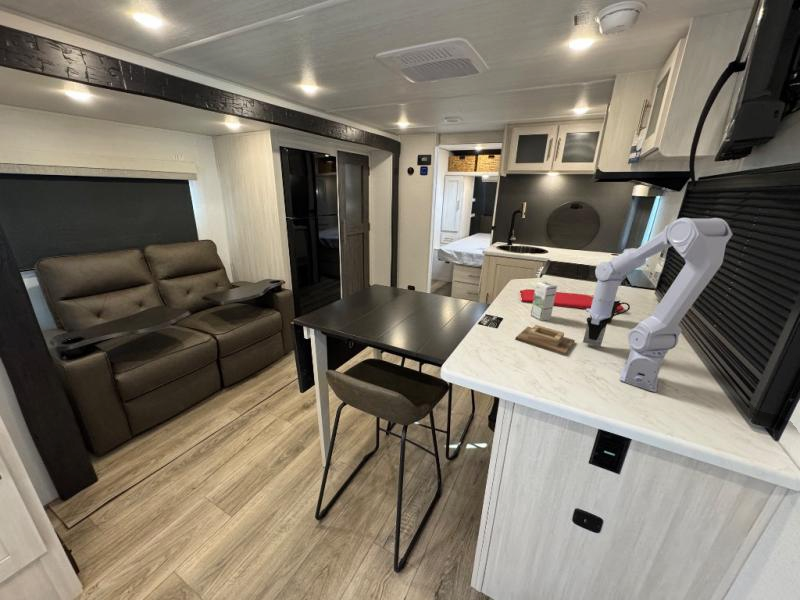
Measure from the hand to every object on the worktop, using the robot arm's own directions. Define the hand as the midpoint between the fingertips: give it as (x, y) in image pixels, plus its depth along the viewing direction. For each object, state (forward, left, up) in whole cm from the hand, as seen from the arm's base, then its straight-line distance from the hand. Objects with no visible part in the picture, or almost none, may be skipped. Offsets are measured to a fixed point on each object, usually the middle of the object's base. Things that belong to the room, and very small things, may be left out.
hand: (593, 337), depth 102 cm
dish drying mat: (+42, +18, -4) cm, 46 cm away
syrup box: (+14, +21, -4) cm, 26 cm away
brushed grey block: (0, 0, -2) cm, 2 cm away
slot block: (-7, +13, -3) cm, 15 cm away
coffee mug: (+28, 0, -4) cm, 28 cm away
